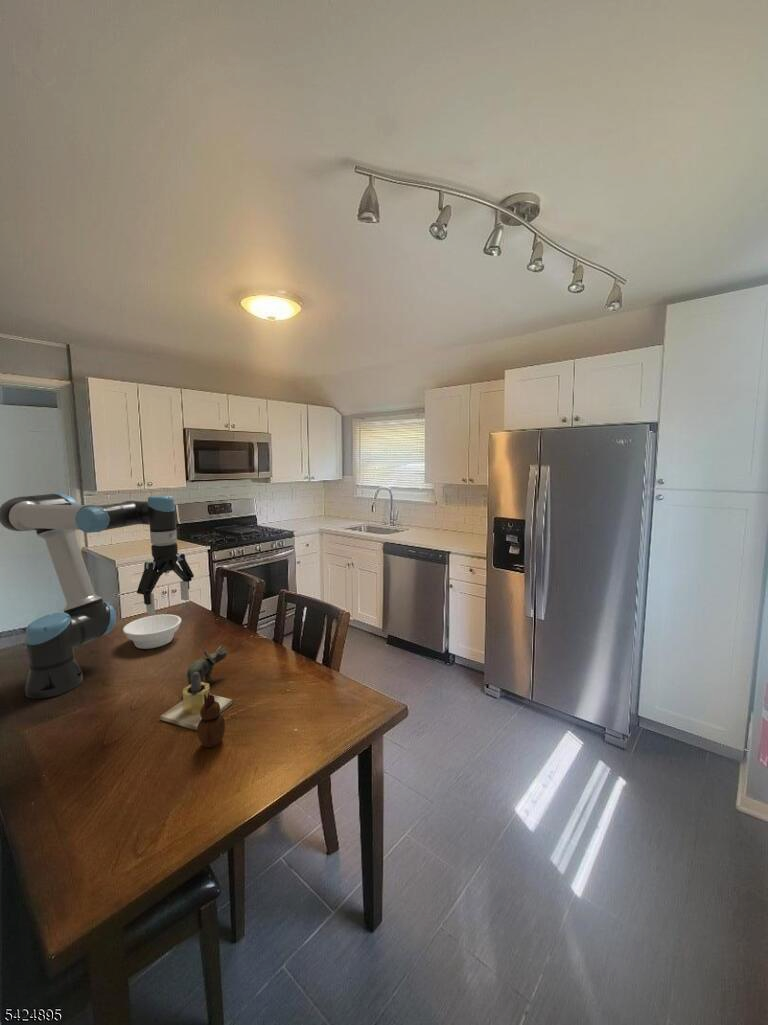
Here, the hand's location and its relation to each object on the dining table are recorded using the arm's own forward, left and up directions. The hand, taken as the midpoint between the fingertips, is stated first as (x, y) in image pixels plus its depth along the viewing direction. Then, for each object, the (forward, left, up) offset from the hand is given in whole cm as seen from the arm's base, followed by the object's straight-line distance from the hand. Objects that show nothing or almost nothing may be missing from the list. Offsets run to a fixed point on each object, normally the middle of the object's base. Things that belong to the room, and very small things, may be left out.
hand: (168, 606), depth 139 cm
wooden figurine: (+34, -20, -27) cm, 48 cm away
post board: (+20, -10, -27) cm, 35 cm away
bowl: (-33, +20, -27) cm, 47 cm away
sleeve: (+20, -10, -26) cm, 34 cm away
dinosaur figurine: (+11, 0, -27) cm, 29 cm away
